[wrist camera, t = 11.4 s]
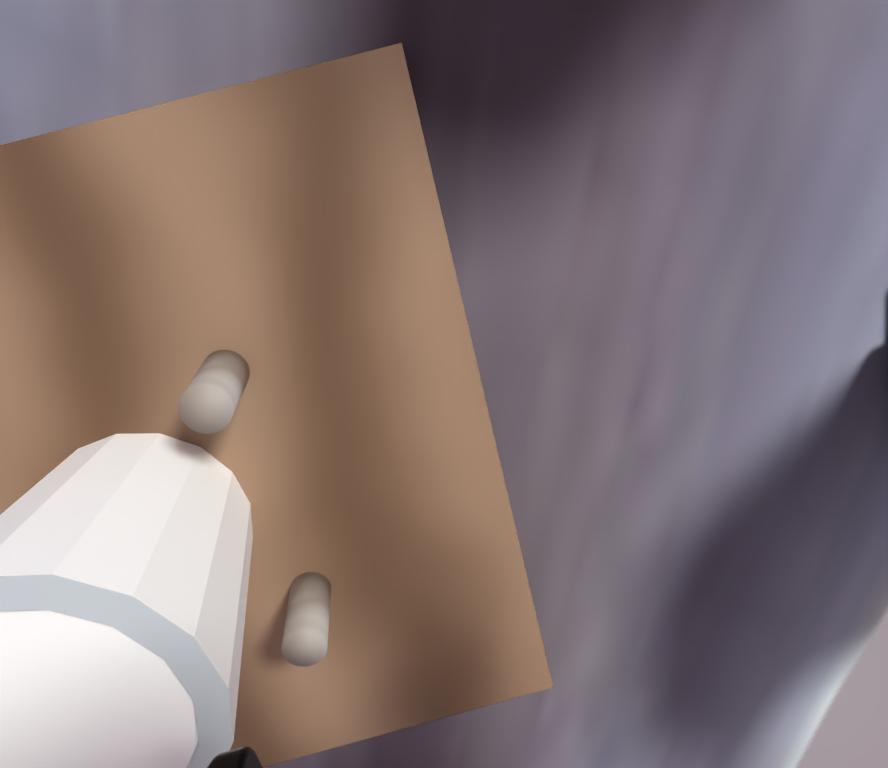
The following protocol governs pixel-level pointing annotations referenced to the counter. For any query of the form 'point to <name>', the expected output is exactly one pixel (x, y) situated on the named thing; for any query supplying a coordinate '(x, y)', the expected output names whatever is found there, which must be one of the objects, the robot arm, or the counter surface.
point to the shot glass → (123, 609)
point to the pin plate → (282, 382)
